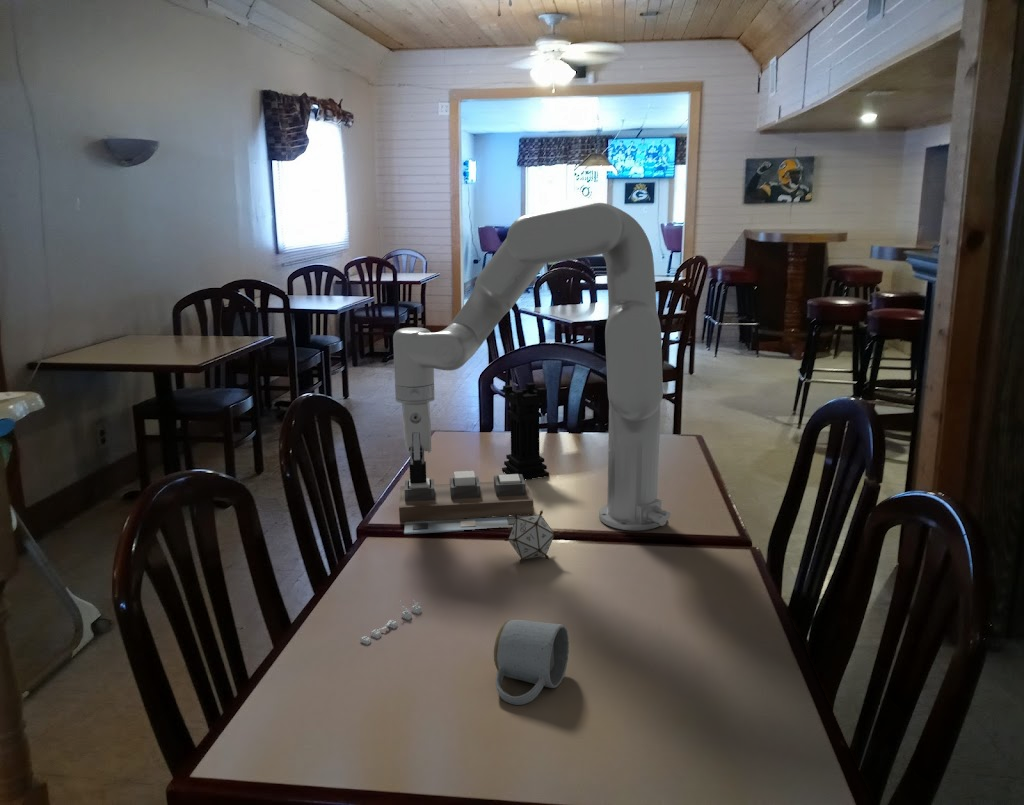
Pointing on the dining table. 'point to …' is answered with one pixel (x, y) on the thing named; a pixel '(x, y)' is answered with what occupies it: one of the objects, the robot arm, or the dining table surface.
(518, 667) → the ceramic mug
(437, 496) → the board
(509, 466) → the chess piece
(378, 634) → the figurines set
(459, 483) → the button middle
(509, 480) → the button
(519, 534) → the game die
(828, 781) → the dining table surface
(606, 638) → the dining table surface
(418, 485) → the button
